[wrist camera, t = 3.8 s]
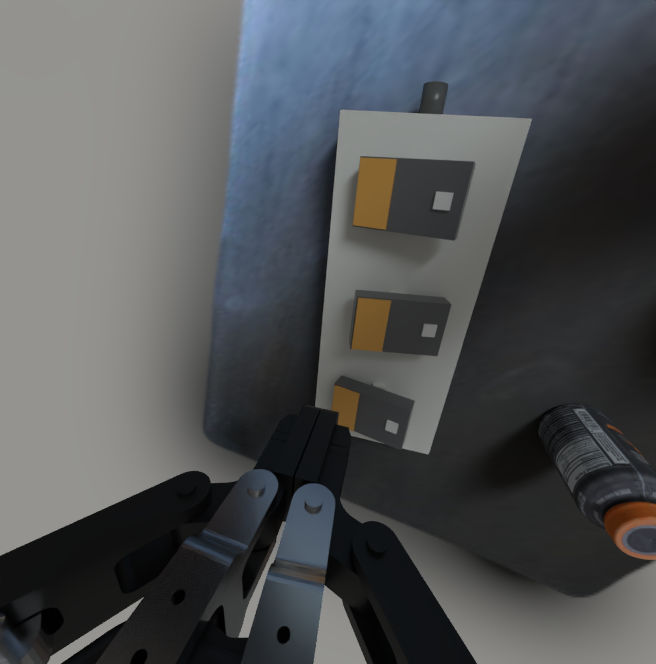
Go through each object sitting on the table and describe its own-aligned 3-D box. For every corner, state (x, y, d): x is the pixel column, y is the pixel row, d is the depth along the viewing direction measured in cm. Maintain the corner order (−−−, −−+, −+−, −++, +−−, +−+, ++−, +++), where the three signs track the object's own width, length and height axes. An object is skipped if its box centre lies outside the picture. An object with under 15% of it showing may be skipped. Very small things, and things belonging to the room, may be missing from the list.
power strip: (522, 97, 21) (548, 74, 17) (426, 427, 34) (428, 458, 30) (352, 91, 23) (340, 69, 19) (322, 403, 36) (311, 429, 32)
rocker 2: (444, 297, 24) (452, 305, 22) (431, 346, 26) (438, 357, 24) (355, 289, 24) (357, 296, 22) (349, 339, 26) (350, 350, 24)
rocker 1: (475, 164, 19) (474, 160, 17) (456, 238, 21) (453, 241, 19) (368, 158, 21) (359, 155, 20) (360, 224, 23) (351, 226, 22)
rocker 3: (415, 400, 26) (410, 412, 25) (405, 439, 28) (400, 452, 27) (341, 375, 29) (333, 384, 28) (337, 411, 31) (329, 422, 29)
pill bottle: (614, 443, 30) (720, 570, 20) (545, 455, 32) (608, 574, 22) (600, 394, 28) (706, 504, 18) (528, 410, 30) (587, 516, 20)
